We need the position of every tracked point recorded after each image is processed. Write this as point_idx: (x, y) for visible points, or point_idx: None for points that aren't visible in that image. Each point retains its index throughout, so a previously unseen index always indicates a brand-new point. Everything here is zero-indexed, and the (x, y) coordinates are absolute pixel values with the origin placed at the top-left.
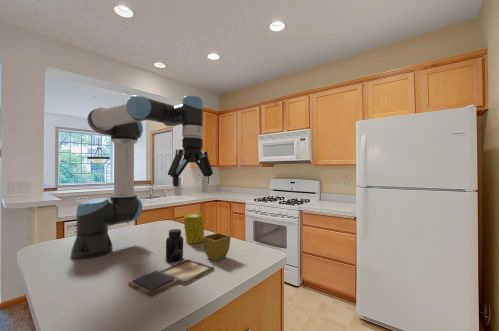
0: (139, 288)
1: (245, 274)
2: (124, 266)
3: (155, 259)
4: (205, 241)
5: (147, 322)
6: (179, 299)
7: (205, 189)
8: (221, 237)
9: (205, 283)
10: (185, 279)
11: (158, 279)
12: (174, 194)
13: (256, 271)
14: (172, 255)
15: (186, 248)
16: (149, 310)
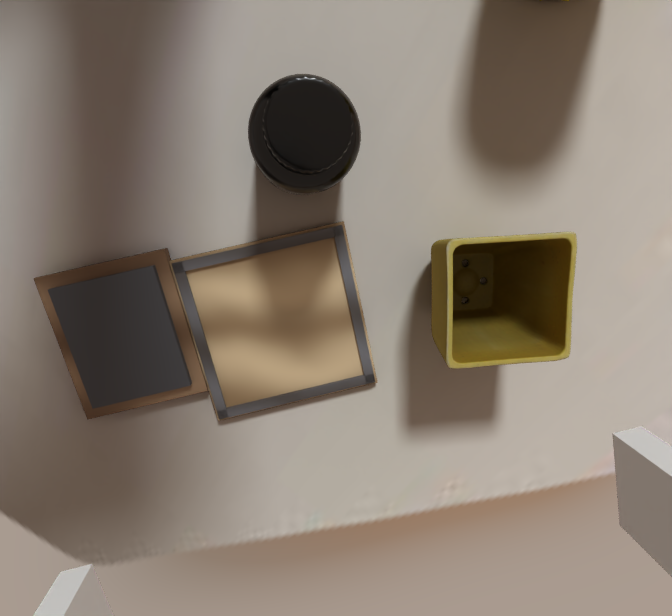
0: (64, 354)
1: (433, 485)
2: (60, 42)
3: (224, 67)
4: (441, 275)
5: (50, 527)
6: (166, 483)
7: (653, 535)
8: (556, 275)
9: (285, 450)
10: (235, 394)
11: (136, 355)
12: (54, 586)
13: (479, 492)
14: (272, 183)
15: (436, 28)
16: (69, 480)
